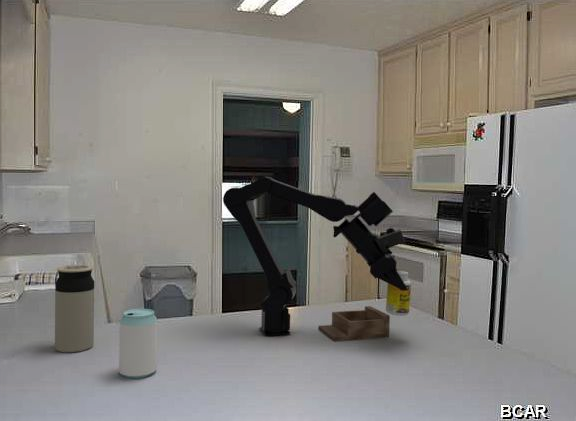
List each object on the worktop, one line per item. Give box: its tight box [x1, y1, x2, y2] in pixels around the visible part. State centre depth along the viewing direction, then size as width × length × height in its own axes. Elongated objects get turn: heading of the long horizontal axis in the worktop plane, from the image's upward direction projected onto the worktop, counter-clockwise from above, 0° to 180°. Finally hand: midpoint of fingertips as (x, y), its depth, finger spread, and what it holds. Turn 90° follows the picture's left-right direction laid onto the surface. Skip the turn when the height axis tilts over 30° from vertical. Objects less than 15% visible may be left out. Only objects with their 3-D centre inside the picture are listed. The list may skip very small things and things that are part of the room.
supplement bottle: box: [385, 270, 412, 317], centre depth 121 cm, size 6×6×10 cm
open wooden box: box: [317, 305, 391, 342], centre depth 128 cm, size 15×10×6 cm
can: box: [118, 308, 158, 379], centre depth 97 cm, size 7×7×12 cm
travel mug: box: [54, 264, 95, 354], centre depth 110 cm, size 8×8×18 cm
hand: (404, 287), depth 121 cm, fingers closed on supplement bottle, 6 cm apart
